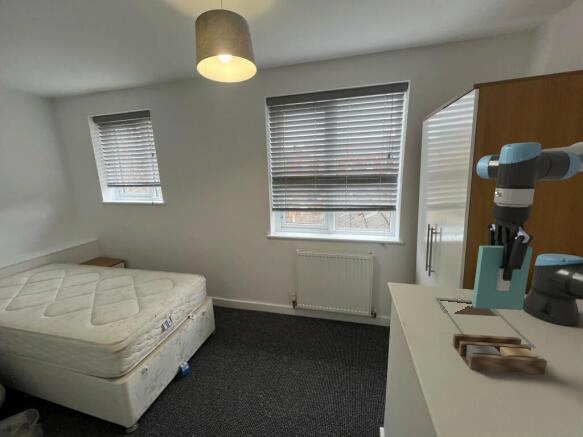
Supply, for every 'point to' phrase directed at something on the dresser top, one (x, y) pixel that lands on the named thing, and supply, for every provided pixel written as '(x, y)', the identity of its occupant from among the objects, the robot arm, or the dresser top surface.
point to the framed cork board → (476, 311)
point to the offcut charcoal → (481, 350)
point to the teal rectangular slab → (487, 281)
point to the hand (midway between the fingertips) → (499, 288)
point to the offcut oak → (516, 352)
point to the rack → (497, 361)
